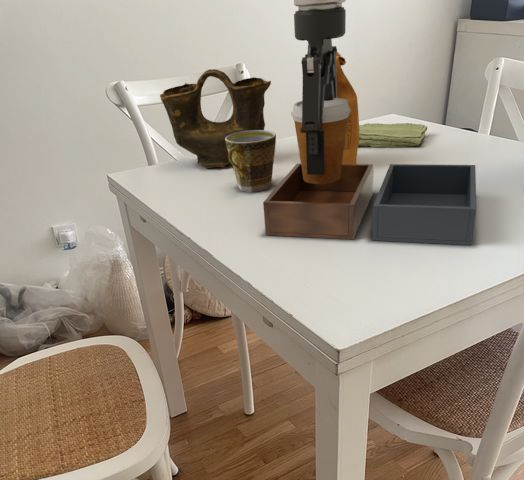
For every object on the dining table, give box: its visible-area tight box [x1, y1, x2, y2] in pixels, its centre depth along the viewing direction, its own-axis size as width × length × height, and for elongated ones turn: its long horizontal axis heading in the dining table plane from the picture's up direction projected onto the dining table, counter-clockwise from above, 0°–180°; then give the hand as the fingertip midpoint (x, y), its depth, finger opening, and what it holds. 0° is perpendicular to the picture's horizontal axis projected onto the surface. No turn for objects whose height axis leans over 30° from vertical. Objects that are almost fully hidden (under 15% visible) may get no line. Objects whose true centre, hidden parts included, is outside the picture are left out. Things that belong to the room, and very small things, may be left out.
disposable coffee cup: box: [290, 98, 351, 184], centre depth 89 cm, size 10×10×12 cm
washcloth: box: [358, 122, 428, 148], centre depth 132 cm, size 13×18×3 cm
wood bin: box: [262, 162, 375, 240], centre depth 94 cm, size 15×22×6 cm
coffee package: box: [336, 51, 360, 164], centre depth 113 cm, size 10×12×22 cm
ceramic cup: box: [225, 129, 277, 193], centre depth 107 cm, size 13×10×10 cm
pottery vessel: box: [159, 68, 272, 169], centre depth 122 cm, size 25×11×20 cm, turn 89°
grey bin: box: [371, 163, 477, 246], centre depth 89 cm, size 15×22×6 cm
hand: (321, 165), depth 91 cm, fingers closed on disposable coffee cup, 8 cm apart
